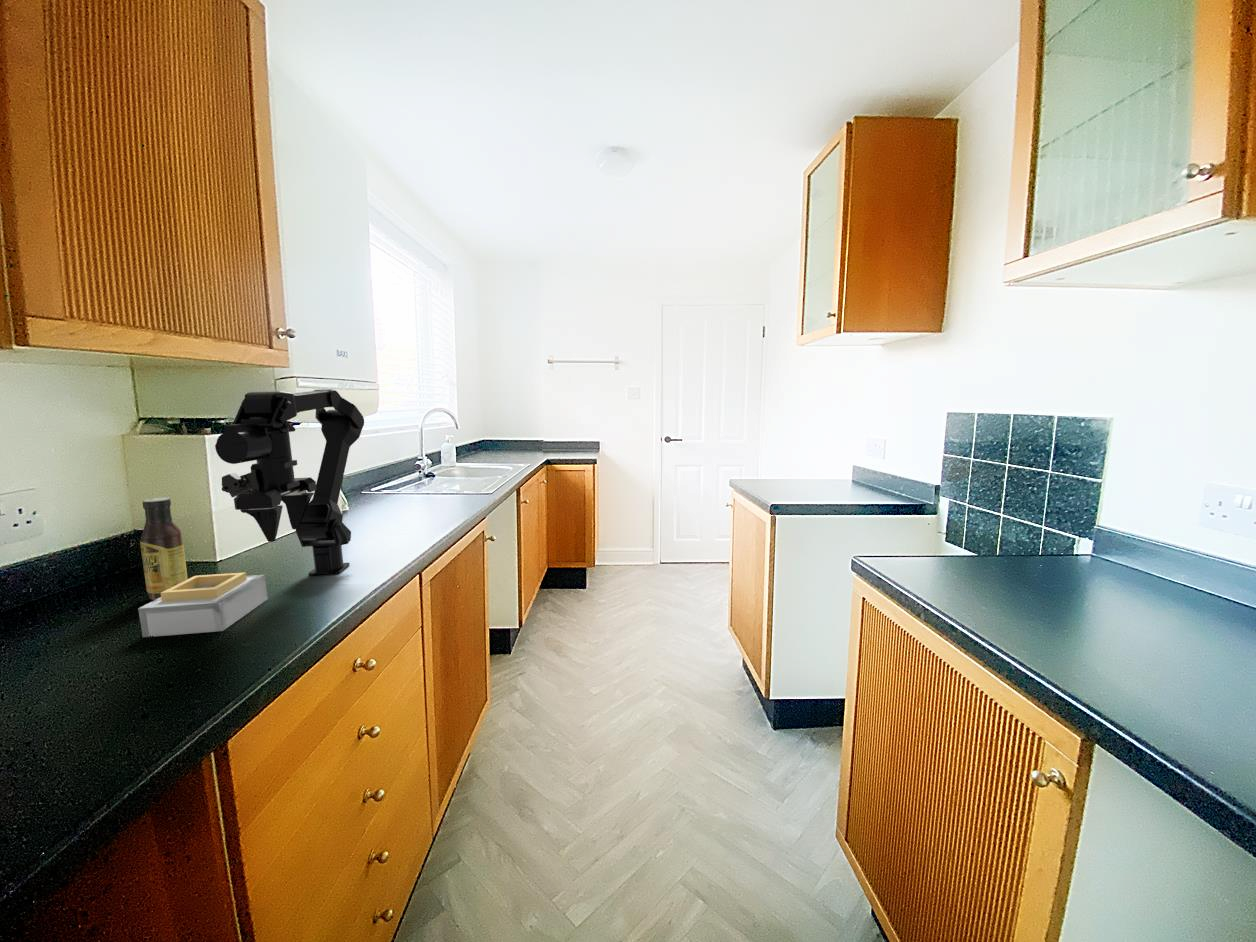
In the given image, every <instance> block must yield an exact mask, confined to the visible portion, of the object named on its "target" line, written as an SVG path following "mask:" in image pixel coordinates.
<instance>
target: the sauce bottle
mask: <svg viewBox="0 0 1256 942" xmlns="http://www.w3.org/2000/svg"><path fill="white" fill-rule="evenodd" d="M171 505H172V501H171V498H170V497H153V498H148V499H144V500H143V501H142V508H143V509H144V516H145V524H144V526H143V527H144V528H143V530H142V534H141V536H140V541H139V543H140V550H141V560H142V565H143V573H144V579H145V588H146V592H147V593H148V598H149V600H151V601H154V600H156V599H158V598H160V597H161V592H163V591H165V590H167V589H169V588H171V587H173V586H175V585H177V584H179V583H181V582H183V581H185V580H187V579H189V578H188V570H187V562H186V554H185V547H184V543H183V537H182V531H181V528H179V527H178V525H177V524H176V523H175V522H173V516H172V512H171V511H172V509H171Z"/></svg>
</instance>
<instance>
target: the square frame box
mask: <svg viewBox="0 0 1256 942" xmlns="http://www.w3.org/2000/svg"><path fill="white" fill-rule="evenodd" d="M265 576H266V575H265V574H254V575H251V574H250V575H247V572H245V571H244V572H231V573H218V574H217V573H215V574H214V573H213V574H200V575H193V576H191V577H189V578H188V579H187V580H185V581H183V582H181V583H179V584H177V585H175V586H173V587H171V588H169V589H167V590H165V591H163V592H161V597H160V598H158V599H156V600H151V601H150V602H149V603H146V604H144V605H143V606H140V607H139V608H137V611H138V616H139V622H140V629H141V634H142V635H141V636H142V638H153V637H163V636H164V637H165V636H177V635H178V636H179V635H188V634H190V635H191V634H201V633H214V632H224V631H225V630H226V629H228V628H229V627H231V626H232V625H233V624H235V623H236V622H237V621H239V620H241V619H242V618H244V617H245V616H246V615H247V614H249V613H250V612H252V611H253V610H255V609H256V608H258V607H259V606H260V605H262V604H263V603H265V602H266V601H267V600H268V599H269V598H268V592H267V591H268V590H267V583H266V577H265ZM209 586H216V587H212V588H204V587H209ZM150 636H151V637H150ZM152 636H153V637H152Z"/></svg>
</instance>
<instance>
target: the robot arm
mask: <svg viewBox="0 0 1256 942" xmlns="http://www.w3.org/2000/svg"><path fill="white" fill-rule="evenodd" d="M325 408H333V409H328V410H326V409H325ZM314 410H315V419H316V420H317V421H318V423H319V424H320V425H321V428H320V430H321V433H322V435H323V437H324V439H325V446H324V449H323V450H324V451H323V454H322V459H321V461H320V462H321V463H320V466H319V467H320V468H319V470H318V475H317V480H314V478H312V477H296V478H295V472H294V471H295V470H294V467H296V466H297V465H298V459H293V455H292V446H291V438H290V433H291V432H296V428H295V427H294V426H293V425H292V424H290V423H289V422H288V421H289V420H291V419H294V418H296V417H297V416H298V414H299V413H301V412H302V413H303V412H306V411H314ZM362 414H363V413H361V412H360V410H359V409H358V408H357V406H356V405H355V404H354V403H352V402H350V401H349V400H347V399H345V398H343V397H342V396H341V394H340V393H339V392H338V391H337V390H335V389H331V388H329V389H328V388H327V389H325V388H324V389H314V390H312V391H311V390H310V391H302V392H295V393H293V392H289V391H282V390H281V391H276V390H275V391H249V392H247V393H245V394H244V399H242V401H241V403H240V406H239V408H238V410H237V413H236V416H235V418H234V420H233V423H232V424H225V425H224V426H223V427H224V432H223V433H221V434H220V435H219V436H218V437H217V439H216V444H215V445H214V448H215V451H216V454H217V455H218V457H219V458H220V459H221V460H222V461H223V462H225V463H227V464H231V465H236V464H241V463H246V462H253V461H256V463H255V462H254V463H252V464H251V466H250V472H248V473H246V474H242V475H240V476H239V474H238V473H235V472H232V473H229V474H226V475H224V476H222V477H221V486H222V487H221V490H222V492H225V493H229V495H230V497H231V498H234V499H233V503H234V509H235V510H236V511H237V510H238V511H239V510H240V512H241V513H243V514H247V515H249V516H251V517H252V518H254V520H255V521H256V523H257V524H258V526H259V528H260V530H261V532H262V534H263V535H264V537H265V539H266V540H267V542H269V543H272V542H275V541H276V538H277V536H278V531H279V527H280V526H279V525H280V522H281V516H282V511H283V505H281V502H282V503H284V504H285V507H286V512H287V515H288V519H289V522H290V526H291V529H292V530H295V532H296V536H297V539H298V540H299V542H300V543H299V544H300V545H301V547H302V548H305V547H311V548H312V549H311V550H312V557H313V566H314V568H313V569H312V570H310V571H309V572H308V573H307V575H308V576H319V575H322V576H323V575H335V574H336V575H337V574H340V573H342V572H343V571H344V570H345V569H346V568H348V567H349V566H350V562H344V557H343V555H344V554H343V547H342V546H344V545H348V544H349V543H350V542H351V540H352V539H351V538H352V531H351V530H350V529H349V528H348V527H347V526H346V525H345V523H343V516H344V515H343V513H342V510H341V509H340V507H339V505H338V502H339V499H340V498H339V497H340V495H341V489H342V484H343V480H344V479H343V478H344V475H345V470H346V465H347V461H348V457H349V452H350V448H351V446H352V445H353V444H354V443H355V442H356V441H357V440H358V439H360V436H361V434H362V431H363V427H364V425H365V418H364V416H363V415H362Z"/></svg>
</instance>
